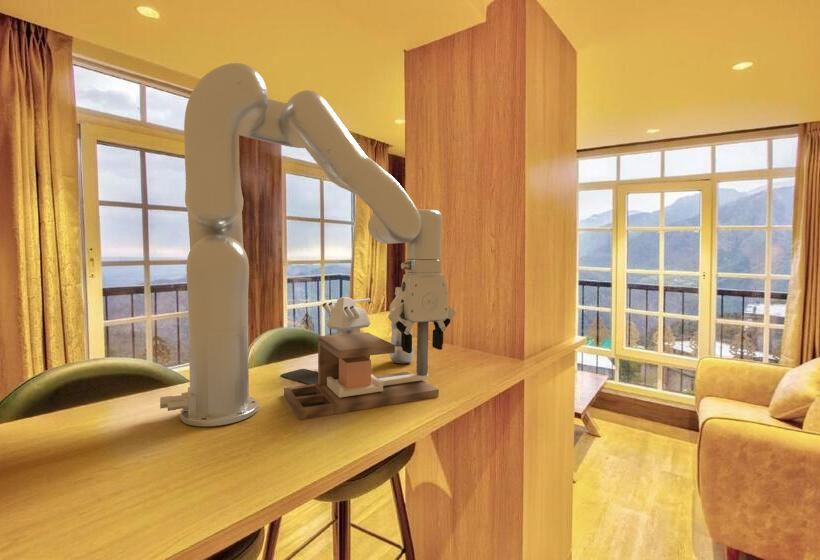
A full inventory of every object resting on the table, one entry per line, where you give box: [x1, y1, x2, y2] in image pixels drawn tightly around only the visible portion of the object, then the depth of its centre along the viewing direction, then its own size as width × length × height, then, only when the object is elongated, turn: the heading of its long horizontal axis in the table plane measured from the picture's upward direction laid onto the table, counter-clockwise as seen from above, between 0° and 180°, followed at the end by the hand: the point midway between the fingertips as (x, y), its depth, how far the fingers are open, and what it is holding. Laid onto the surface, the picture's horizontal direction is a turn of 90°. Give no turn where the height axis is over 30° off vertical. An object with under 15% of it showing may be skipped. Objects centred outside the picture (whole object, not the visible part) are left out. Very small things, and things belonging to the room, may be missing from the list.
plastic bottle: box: [389, 286, 415, 364], centre depth 111 cm, size 6×7×20 cm
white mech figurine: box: [321, 296, 371, 335], centre depth 105 cm, size 12×13×18 cm
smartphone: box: [280, 368, 318, 385], centre depth 96 cm, size 7×1×15 cm
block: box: [339, 356, 372, 389], centre depth 84 cm, size 5×5×5 cm
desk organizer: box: [283, 332, 440, 421], centre depth 85 cm, size 28×14×12 cm, turn 118°
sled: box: [327, 322, 430, 398], centre depth 87 cm, size 21×8×13 cm, turn 118°
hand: (422, 349), depth 91 cm, fingers open, 6 cm apart
